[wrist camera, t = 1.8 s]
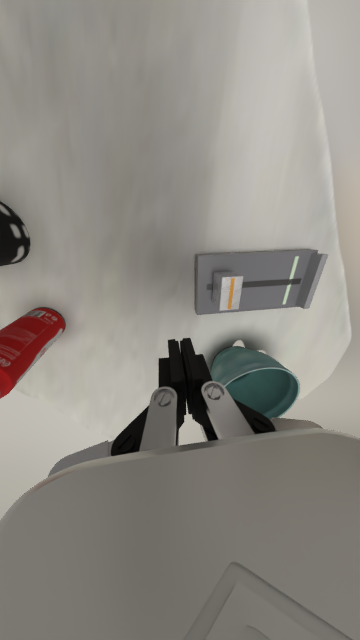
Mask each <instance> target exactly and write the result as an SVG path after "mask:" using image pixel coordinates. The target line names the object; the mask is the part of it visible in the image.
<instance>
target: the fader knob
mask: <svg viewBox="0 0 360 640" xmlns="http://www.w3.org/2000/svg"><path fill="white" fill-rule="evenodd" d="M242 282H243V276H242V275H240V274H237V273H235V272H233V271H222V272H214V277H213V292H212V302H213V303H214V305H215V306H216V307H217V308H218V309H219V311H222V310H234V309H239V303H240V296H241V289H242Z"/></svg>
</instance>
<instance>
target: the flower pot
mask: <svg viewBox="0 0 360 640" xmlns="http://www.w3.org/2000/svg"><path fill="white" fill-rule="evenodd" d="M210 375H211V377H212V380H213V381H215V382H219V383H221V384H222V385H223V386H224V387H225V388H226V389H227V391H228V393H229V394H230V396H231V397H232V398H233V399H235V400H237V401H239V402H241V403H242V404H244V405H246V406H248V407H250V408H252V409H253V410H255V411H257V412H259V413H261V414H263V415H264V416H266V417H267V418H268V419H272V417H276V418H279V417H280V416H282V415H283V414H285V413H286V412H287V411H288V410H289V409H290V408H291V407H292V405H293V404H294V403H295V401H296V400H297V398H298V395H299V392H300V384H299V381H298V379H297V377H296V376H295V375H294V374H293V373H292V372H291V371H289V370H288V369H286V368H285V367H283V366H282V365H281V364H280V363H279V362H277V361H276V360H275V359H273V358H272V357H270V356H268V355H266V354H264V353H261V352H259V351H255V350H251V349H246V348H244V347H240V346H233V347H229V348H226V349H224V350H223V351H221V352H220V353H219V354H218V355H217V356H216V357H215V359H214V361H213V367H212V369H211V372H210Z"/></svg>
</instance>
